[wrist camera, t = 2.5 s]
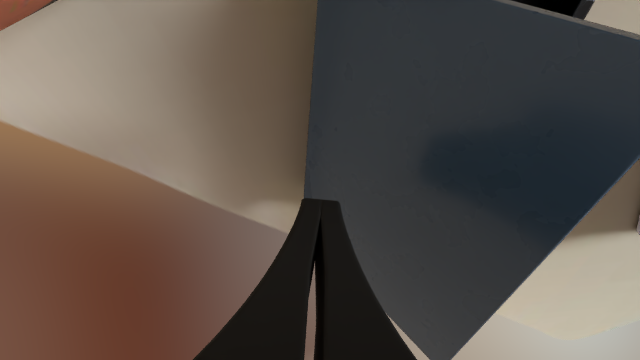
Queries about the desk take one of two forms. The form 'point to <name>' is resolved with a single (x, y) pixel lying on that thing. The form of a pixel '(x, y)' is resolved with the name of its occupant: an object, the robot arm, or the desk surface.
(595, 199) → the cover
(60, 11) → the desk surface
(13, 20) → the coffee cup
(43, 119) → the desk surface
